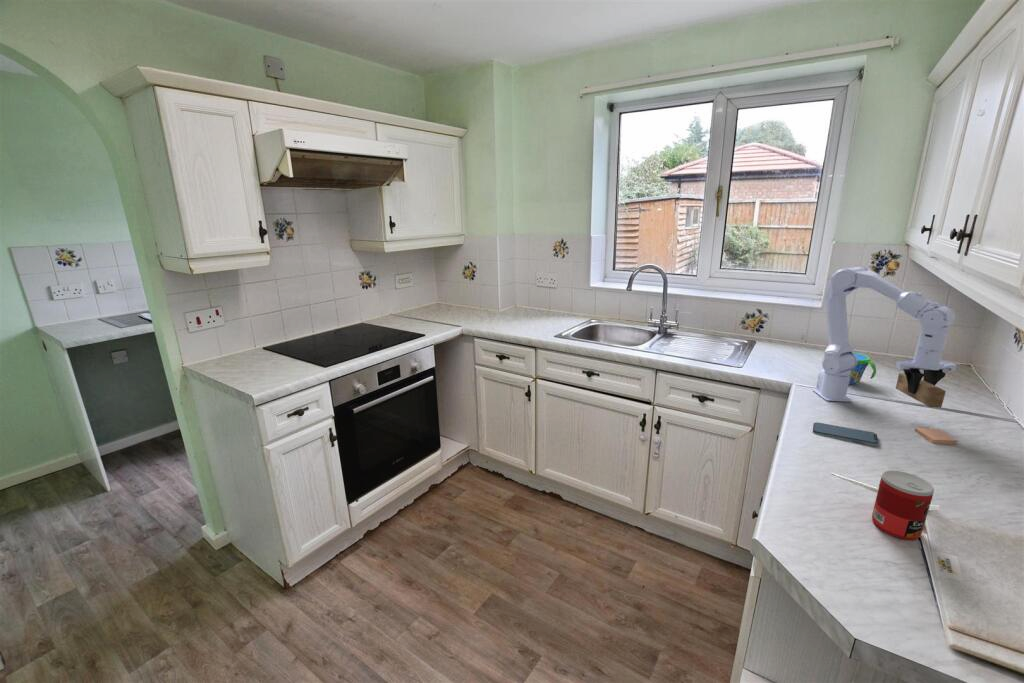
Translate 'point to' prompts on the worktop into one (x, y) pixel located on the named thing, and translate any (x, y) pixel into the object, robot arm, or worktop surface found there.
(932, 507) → the fork
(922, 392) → the long wooden beam
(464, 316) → the worktop surface
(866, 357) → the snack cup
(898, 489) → the canned food
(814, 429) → the smartphone
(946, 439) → the tile
